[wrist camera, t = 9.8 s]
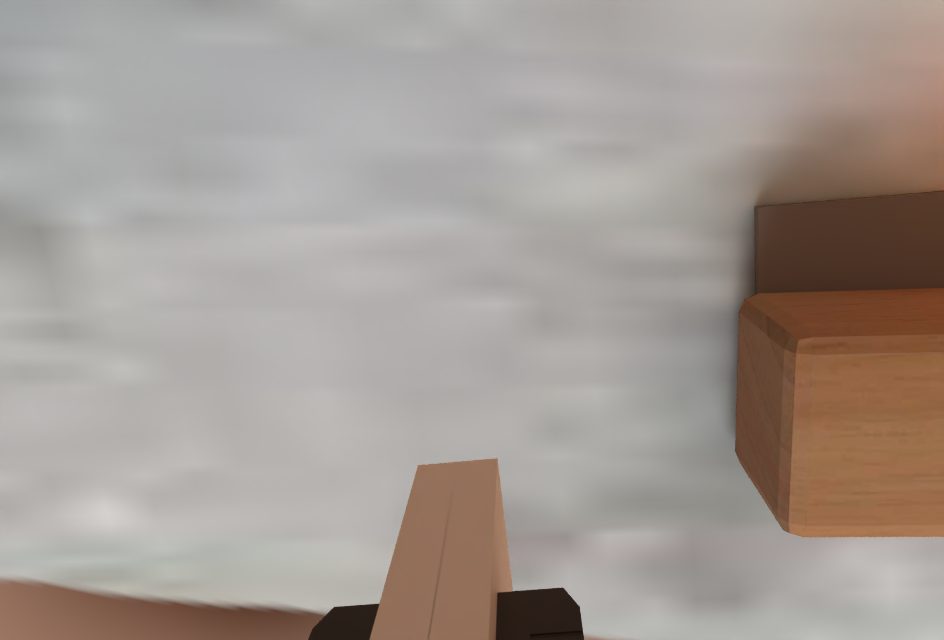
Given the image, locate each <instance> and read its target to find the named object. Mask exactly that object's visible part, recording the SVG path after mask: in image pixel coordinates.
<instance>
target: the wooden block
mask: <svg viewBox="0 0 944 640" xmlns="http://www.w3.org/2000/svg"><path fill="white" fill-rule="evenodd" d="M735 452H736V454H737V457H738V459H739V461H740V463H741V465H742V467H743V468H744V470H745V471H746V473H747V474H748V476H749V478H750V479H751V481H752V482H753V484H754V485H755V487H756V488H757V490H758V492H759V493H760V495H761V496H762V498H763V499H764V501H765V502H766V504H767V506H768V507H769V509H770V510H771V512H772V513H773V515H774V516H775V518H776V520H777V521H778V523H779V524H780V526H781V527H782V529H783V530H784V531H786V532H788V533H791V534H794V535H798V536H801V537H944V288H924V289H889V290H854V291H819V292H785V293H758V294H756V295H753V296H751V297H749V298H746V299H745V300H744V302H743V305H742V307H741V309H740V311H739V334H738V370H737V405H736V440H735Z"/></svg>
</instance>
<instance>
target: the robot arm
mask: <svg viewBox="0 0 944 640" xmlns="http://www.w3.org/2000/svg"><path fill="white" fill-rule="evenodd" d="M308 640H584V636H583V628H582V621H581V613H580V607H579V606H578V604H577V603H576V602H575V601H574V600H573V599H572V597H571V596H570V595H569V594H568V593H567V592H566V590H565V589H564V588H552V589H538V590H525V591H512V580H511V571H510V563H509V554H508V546H507V537H506V528H505V520H504V511H503V503H502V494H501V486H500V477H499V468H498V460H497V459H485V460H474V461H462V462H451V463H439V464H428V465H418V467H417V471H416V475H415V478H414V482H413V485H412V489H411V493H410V496H409V500H408V503H407V507H406V510H405V514H404V518H403V521H402V525H401V528H400V532H399V536H398V539H397V543H396V546H395V550H394V554H393V557H392V561H391V564H390V568H389V572H388V575H387V579H386V582H385V586H384V589H383V593H382V597H381V600H380V604H369V605H356V606H343V607H334V608H333V609H332V610H331V611H330V612H329V613H328V614H327V615H326V616H325V617H324V618H323V619H322V620H321V621H320V622H319V623H318V624H317V625H316V626H315V627H314V628H313V629H312V632H311V634H310V636H309V639H308Z"/></svg>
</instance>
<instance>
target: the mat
mask: <svg viewBox="0 0 944 640" xmlns="http://www.w3.org/2000/svg"><path fill="white" fill-rule="evenodd" d="M754 220H755V279H756V294H758V293H785V292H819V291H854V290H889V289H924V288H944V191H936V192H924V193H912V194H900V195H888V196H876V197H864V198H852V199H840V200H828V201H816V202H804V203H793V204H781V205H769V206H757V207H754Z"/></svg>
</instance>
